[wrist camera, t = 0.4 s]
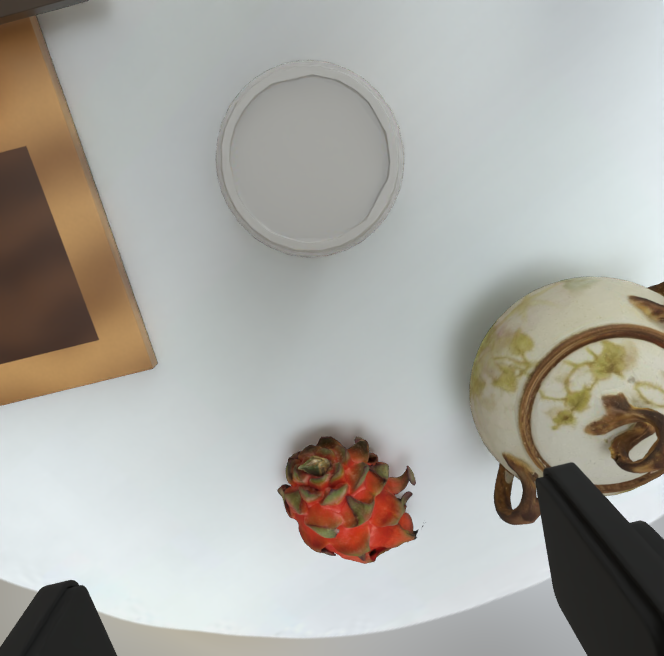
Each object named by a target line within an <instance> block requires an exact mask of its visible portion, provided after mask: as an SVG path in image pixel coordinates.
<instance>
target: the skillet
mask: <svg viewBox="0 0 664 656" xmlns="http://www.w3.org/2000/svg"><path fill="white" fill-rule="evenodd" d="M86 1H89V0H0V25H2V24H5V23H9V22H13V21H16V20H20V19H24V18H27V17H31V16H35V15H38V14H42V13H46V12H49V11H53V10H57V9H60V8H64V7H68V6H71V5H75V4H79V3H82V2H86Z"/></svg>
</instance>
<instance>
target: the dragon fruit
mask: <svg viewBox="0 0 664 656" xmlns="http://www.w3.org/2000/svg"><path fill="white" fill-rule="evenodd" d="M354 441H355V443H356V444H355V445H353V446H352V447H351V448H349V449H346V448H345V447H343V446H342V445H341V444H340V442H338V441H337V440H335V439H334V438H333V437H327V436H326V437H321V438H320V440H319V442H318V444H317V445H316V446H314V445H309V446H308V447H306V448H305V449H304V450H303V451H302V452H301V451H299V452H297V453H296V454H293V455H292V456H291V457H290V458H289V459H288V463H287V466H286V478H287V481H288V482H289V484H291V486H290V485H287V484H284V485H282V486H281V487H280V488H279V489H278V493H279V494H280V495H281V496H282V498H283V501H284V505H285V509H286V512H287V514H288V515H289V517H290V518H293V519H295V520H297V522H298V524H299V532H300V535H301V537H302V539H303V540H304V542H305V543H306V545H308V546H309V547H310V548H311V549H313V550H314V551H316V552H320V553H325V554H327V555H331V556H336V554H338V555H340V556H341V557H342V558H344V559H348V560H352V561H356V562H360V563H365V564H366V563H370V562H374V561H375V560H376V557H378V556H379V555H380V554H382V553H384V552H385V551H389V550H390V549H391V548H395V547H398V546H400V545H401V544H403V543H404V542H409V541H411V540H414V539H416V538H417V537H416V534H417V532H418V530H417V531H413V523H412V519H411V517H410V515H409V514H408V513H405V509H406V504H405V503H406V502H407V500H408V499H409V498H410V497H411V496H412V493H411V492H406V493H405V494H404V495H403V496H402V498H401V499H400V498H396V496H395V494H398V493H399V492H401V491H402V490H404V489H405V487H406V486H407V484H408V482H409V481H410V482H411V484H413V485H415V484H416V481H415V477H414V474H413V472H412V470H411V468H410V467H409V466H407V469H406V471H405V472H404V474H403V475H402V476H400V477H395V478H394V477H388V476H389V472H388V471H389V466H388V465H387V464H386V463H383V462H378V456H377V455H376V454H374V453H369V445H368V443H367V441H366V440H364V439H362V438H360V437H356V438H355V440H354ZM423 524H424V523H423ZM423 526H424V525H423ZM423 526H422V528H423ZM334 553H336V554H334Z"/></svg>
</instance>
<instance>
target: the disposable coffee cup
mask: <svg viewBox="0 0 664 656" xmlns="http://www.w3.org/2000/svg"><path fill="white" fill-rule="evenodd" d="M216 167H217V176H218V180H219V184H220V188H221V192H222V194H223V196H224V198H225V201H226V203H227V205H228V207H229V209H230V210H231V212H232V213H233V215H234V216H235V218H236V219H237V221H238V222H239V223H240V224H241V225H242V226H243V227H244V228H245V229H246V230H247V231H248V232H249V233H250V234H251V235H252V236H253V237H254V238H255V239H257V240H259V241H260V242H262V243H264V244H265V245H267V246H269V247H270V248H273V249H275V250H278V251H280V252H283V253H286V254H289V255H296V256H303V257H318V256H328V255H332V254H335V253H338V252H342V251H345V250H347V249H349V248H351V247H353V246H355V245H356V244H358V243H360V242H362V241H363V240H364V239H366V238H367V237H368V236H369V235H370V234H372V233H373V232H374V231H375V230H376V229H377V228H378V227H379V225H380V224H381V223H382V222H383V221H384V220H385V218H386V217H387V215H388V213H389V212H390V210H391V208H392V207H393V205H394V203H395V200H396V198H397V195H398V192H399V190H400V186H401V182H402V178H403V169H404V151H403V143H402V138H401V134H400V130H399V127H398V124H397V122H396V120H395V117H394V115H393V113H392V110H391V109H390V107H389V106H388V104H387V103H386V102H385V100H384V99H383V98H382V96H381V95H380V93H379V92H378V91H377V90H376V89H375V88H374V87H373V86H372V85H370V84H369V83H368V82H367V81H366V80H365V79H364V78H362V77H361V76H359V75H357V74H356V73H354V72H352V71H350V70H349V69H346V68H344V67H341V66H338V65H336V64H333V63H329V62H321V61H314V60H306V61H295V62H290V63H286V64H281V65H279V66H276V67H274V68H272V69H269V70H267V71H266V72H264V73H262V74H261V75H259V76H257V77H256V78H254V79H253V80H252V81H251V82H250V83H249V84H248V85H246V86H245V87H244V88H243V89H242V90H241V92H240V93H239V94H238V95H237V96H236V98H235V99H234V101H233V102H232V104H231V105H230V106H229V108H228V110H227V113H226V115H225V117H224V119H223V121H222V124H221V128H220V131H219V135H218V139H217V150H216Z"/></svg>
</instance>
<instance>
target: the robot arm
mask: <svg viewBox="0 0 664 656" xmlns="http://www.w3.org/2000/svg"><path fill="white" fill-rule="evenodd" d="M535 483H536V490H537V496H538V502H539V507H540V513H541V519H542V525H543V531H544V537H545V543H546V549H547V555H548V561H549V566H550V572H551V578H552V584H553V589H554V593H555V596H556V599H557V602H558V604H559V606H560V608H561V610H562V612H563V613H564V615H565V617H566V619H567V620H568V622H569V624H570V625H571V627H572V629H573V631H574V633H575V634H576V636H577V638H578V640H579V642H580V643H581V645H582V647H583V649H584V650H585V652H586V654H587V656H664V539H663V538H662V537H661V536H660V535H659V534H658V533H657V532H656V531H655V530H654V529H653V528H652V527H651V526H649V525H648V524H647V523H646V522H643V521H636V522H632V523H629V522H628V521H627V520H626V519H625V518H624V517H623V515H622V514H621V513H620V512H619V511H618V510H617V509H616V508H615V507H614V506H613V505H612V503H611V502H610V501H609V500H608V499H607V498H606V497H605V496H604V495H603V494H602V492H601V491H600V490H599V489H598V488H597V487H596V486H595V485H594V484H593V483H592V482H591V480H590V479H589V478H588V477H587V476H586V475H585V474H584V473H583V472H582V471H581V469H580V468H579V467H578V466H577V465H576V464H575V463H573V462H570V463H565V464H561V465H557V466H553V467H548V468H544V470H543V477H540V478H536V481H535ZM0 656H117V655H116V652H115V650H114V648H113V646H112V644H111V641H110V639H109V637H108V635H107V632H106V630H105V628H104V626H103V623H102V621H101V619H100V617H99V615H98V612H97V610H96V608H95V606H94V603H93V601H92V599H91V597H90V595H89V592H88V590H87V589H86V587H84V586H83V585H80V586H79V584H78V583H77V582H76V581H74V580H68V581H64V582H60V583H56V584H51V585H47V586H44V587H42V588H41V589H40V590H39V591H38V593H37V594H36V596H35V597H34V599H33V600H32V602H31V603H30V604H29V606H28V607H27V609H26V610H25V612H24V613H23V615H22V616H21V618H20V619H19V621H18V622H17V624H16V625H15V627H14V628H13V629H12V631H11V632H10V634H9V635H8V637H7V638H6V640H5V641H4V642H3V644H2V645H1V647H0Z"/></svg>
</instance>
